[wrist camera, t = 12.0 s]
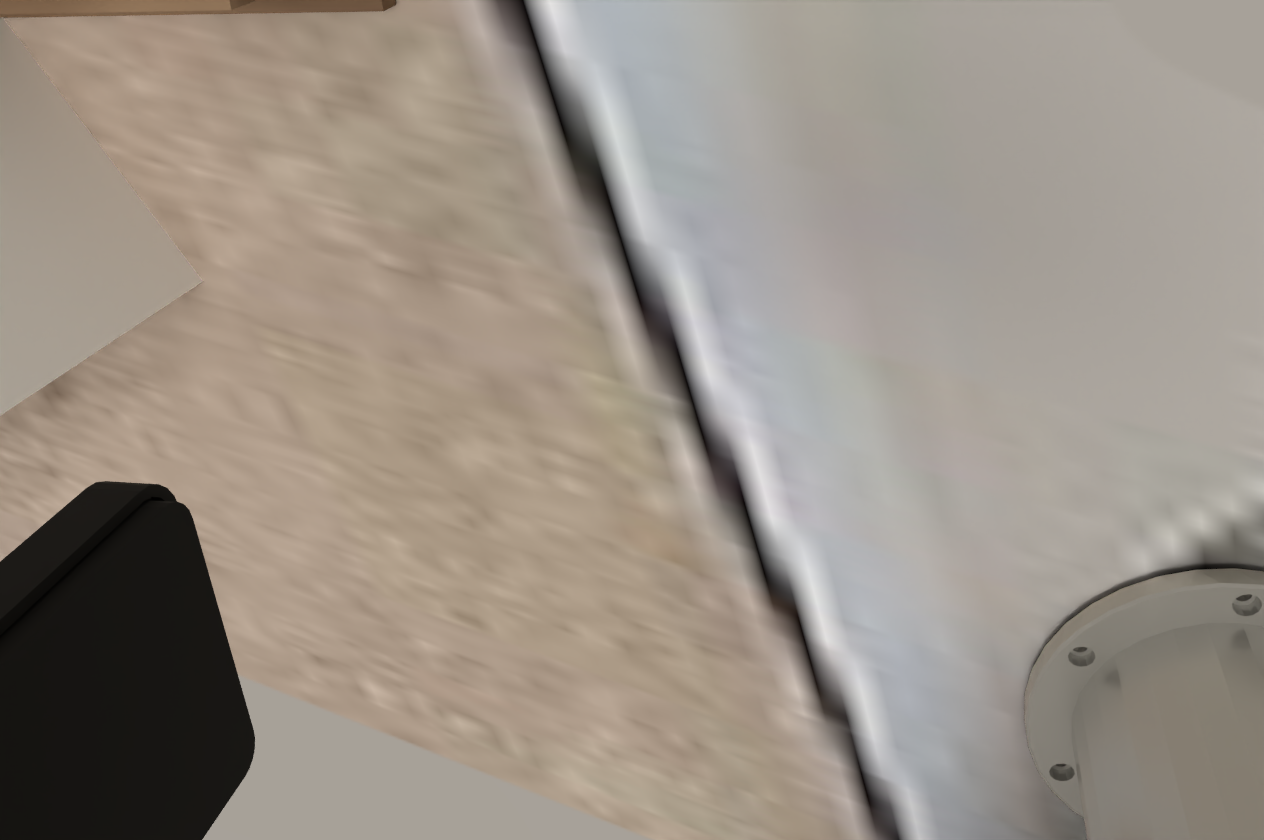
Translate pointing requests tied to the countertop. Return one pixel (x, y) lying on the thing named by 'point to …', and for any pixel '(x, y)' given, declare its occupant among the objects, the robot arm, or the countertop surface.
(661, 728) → the countertop surface
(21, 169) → the milk
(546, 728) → the countertop surface
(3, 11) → the wooden open tray
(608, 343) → the countertop surface
